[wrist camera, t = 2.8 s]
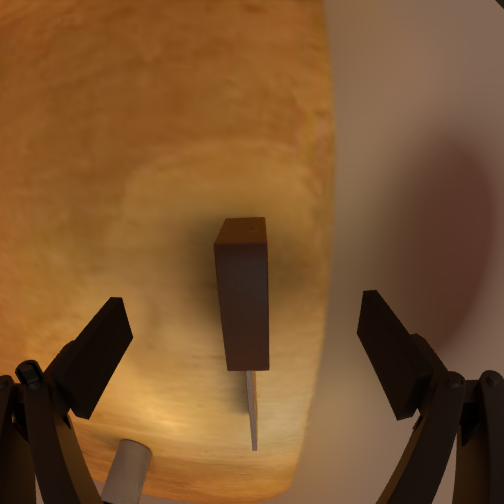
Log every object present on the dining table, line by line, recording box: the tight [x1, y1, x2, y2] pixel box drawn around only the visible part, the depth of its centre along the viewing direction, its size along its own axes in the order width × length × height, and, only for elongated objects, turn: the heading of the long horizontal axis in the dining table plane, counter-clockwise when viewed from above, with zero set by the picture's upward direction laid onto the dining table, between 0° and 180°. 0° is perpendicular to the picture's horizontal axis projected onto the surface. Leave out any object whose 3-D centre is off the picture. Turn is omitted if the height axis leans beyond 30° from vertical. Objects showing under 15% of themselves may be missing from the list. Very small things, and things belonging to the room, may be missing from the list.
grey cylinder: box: [101, 440, 152, 504], centre depth 24 cm, size 4×4×10 cm
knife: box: [214, 217, 269, 451], centre depth 19 cm, size 19×2×5 cm, turn 2°
